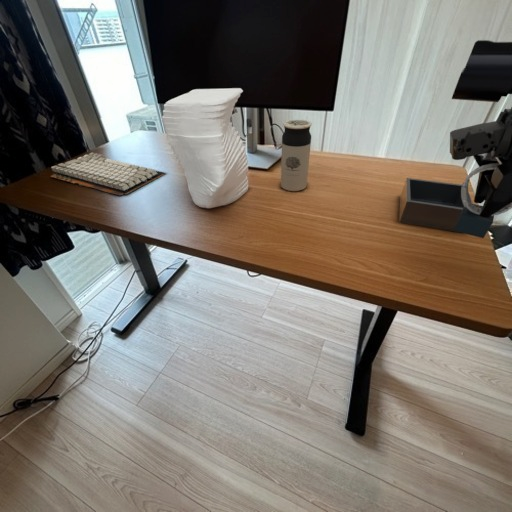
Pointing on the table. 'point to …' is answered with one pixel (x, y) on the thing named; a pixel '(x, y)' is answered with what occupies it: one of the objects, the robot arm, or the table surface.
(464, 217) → the watch
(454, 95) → the robot arm
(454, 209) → the basin
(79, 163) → the mechanical keyboard
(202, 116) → the paper stack
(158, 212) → the table surface
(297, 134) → the travel mug
